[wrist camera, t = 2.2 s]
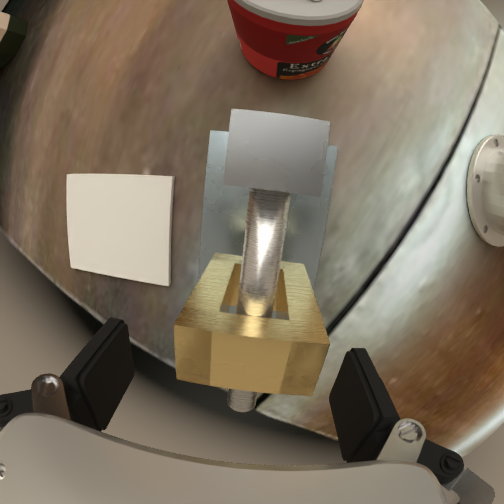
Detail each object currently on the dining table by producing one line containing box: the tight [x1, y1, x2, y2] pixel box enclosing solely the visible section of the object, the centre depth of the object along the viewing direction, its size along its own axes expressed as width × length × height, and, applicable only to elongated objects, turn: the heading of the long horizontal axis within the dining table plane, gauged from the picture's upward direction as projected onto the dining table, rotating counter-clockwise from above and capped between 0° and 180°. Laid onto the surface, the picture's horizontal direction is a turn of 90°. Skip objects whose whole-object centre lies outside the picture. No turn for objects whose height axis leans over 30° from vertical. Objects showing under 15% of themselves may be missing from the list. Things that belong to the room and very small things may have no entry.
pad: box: [67, 174, 175, 286], centre depth 24 cm, size 12×10×1 cm
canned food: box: [227, 0, 364, 80], centre depth 13 cm, size 8×8×11 cm
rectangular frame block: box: [174, 253, 330, 396], centre depth 15 cm, size 6×3×9 cm, turn 83°
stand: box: [198, 109, 337, 412], centre depth 16 cm, size 10×16×14 cm, turn 173°
